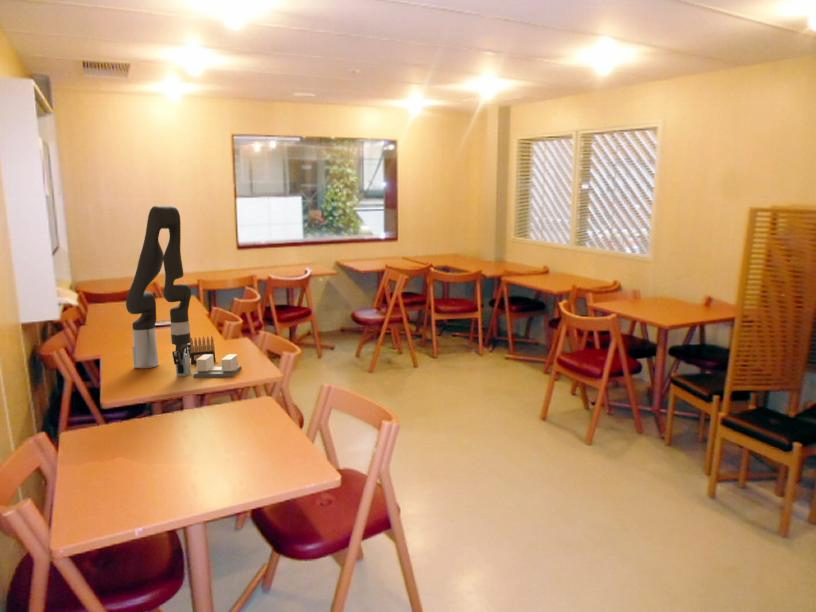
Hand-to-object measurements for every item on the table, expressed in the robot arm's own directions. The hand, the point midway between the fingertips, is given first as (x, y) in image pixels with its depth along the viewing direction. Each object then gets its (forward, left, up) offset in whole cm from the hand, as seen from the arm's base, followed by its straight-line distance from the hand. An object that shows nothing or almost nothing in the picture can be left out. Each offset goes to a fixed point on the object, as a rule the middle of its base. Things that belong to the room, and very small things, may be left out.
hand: (183, 371), depth 254 cm
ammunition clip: (+1, +20, -2) cm, 20 cm away
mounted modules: (+14, +2, +1) cm, 14 cm away
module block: (0, 0, -1) cm, 1 cm away
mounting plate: (+14, +2, -1) cm, 14 cm away
